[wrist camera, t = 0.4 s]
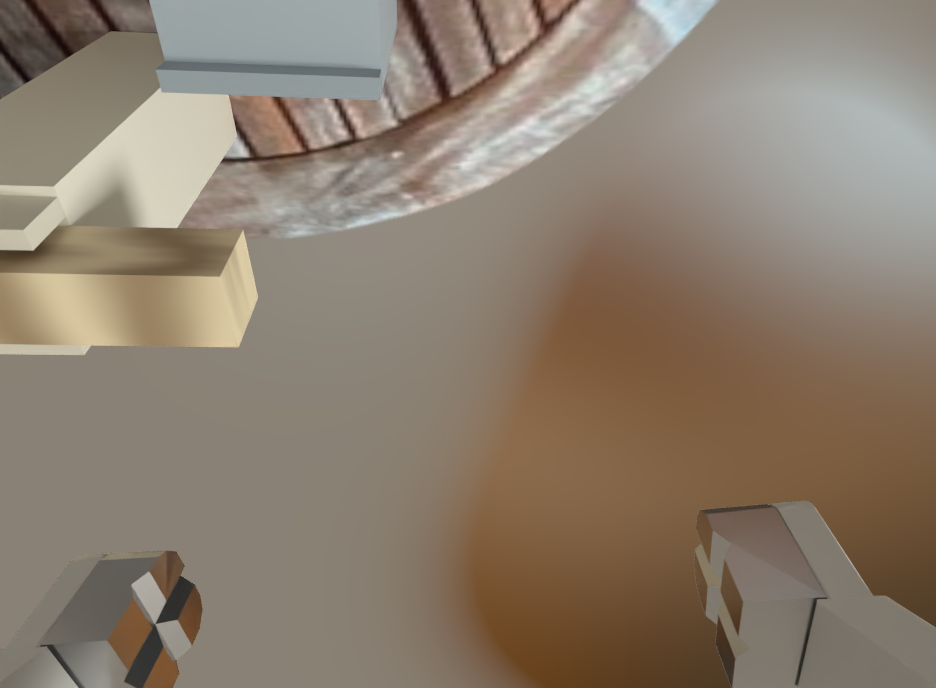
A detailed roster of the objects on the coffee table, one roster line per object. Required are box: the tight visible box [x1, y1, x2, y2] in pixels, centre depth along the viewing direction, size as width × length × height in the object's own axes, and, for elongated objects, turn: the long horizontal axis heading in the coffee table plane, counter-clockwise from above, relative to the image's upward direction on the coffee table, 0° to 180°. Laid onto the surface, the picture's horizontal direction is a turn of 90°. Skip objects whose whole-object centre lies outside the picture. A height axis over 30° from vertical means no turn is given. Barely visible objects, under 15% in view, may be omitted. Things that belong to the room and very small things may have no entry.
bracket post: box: [0, 31, 237, 355], centre depth 38 cm, size 8×8×29 cm
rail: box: [0, 225, 258, 347], centre depth 28 cm, size 20×4×4 cm, turn 87°
